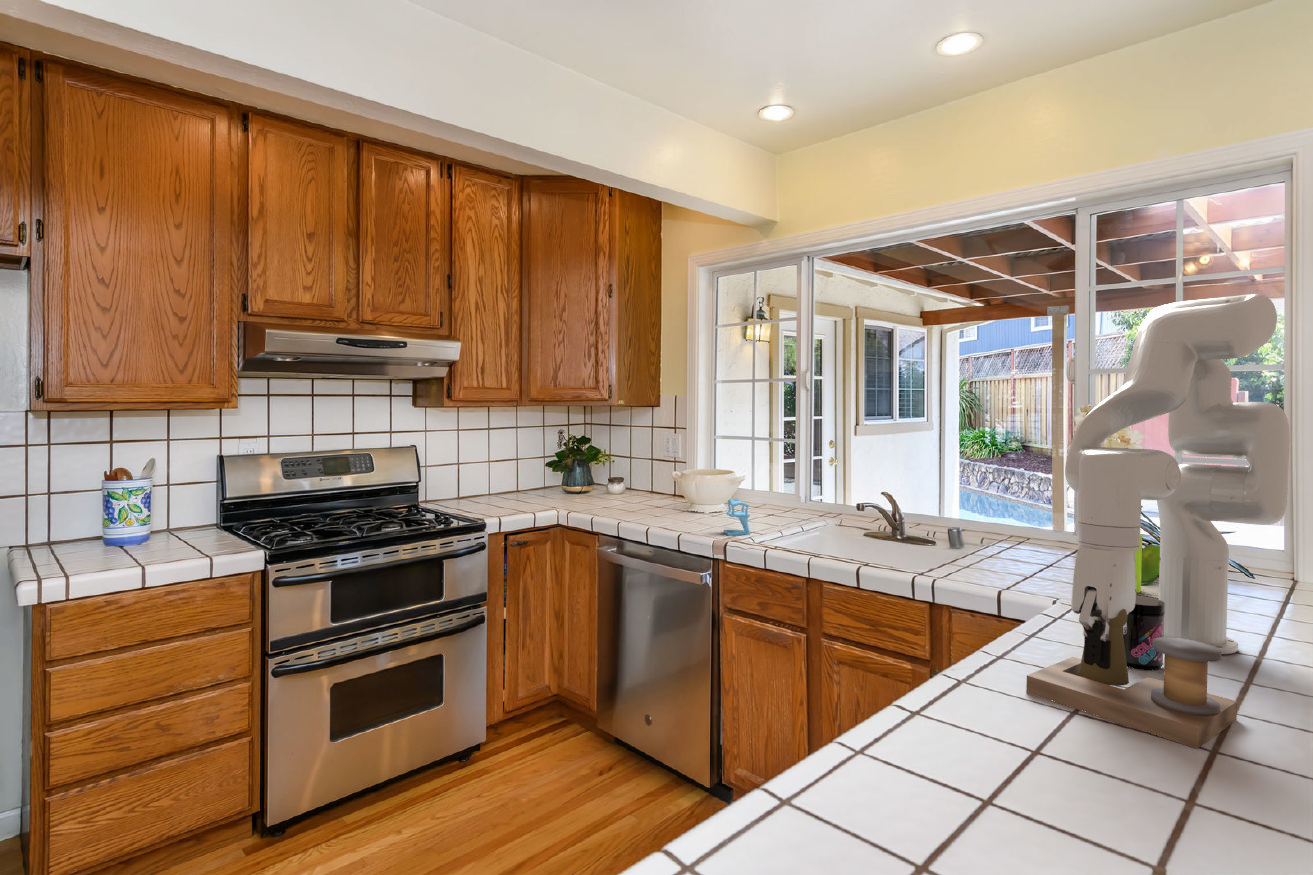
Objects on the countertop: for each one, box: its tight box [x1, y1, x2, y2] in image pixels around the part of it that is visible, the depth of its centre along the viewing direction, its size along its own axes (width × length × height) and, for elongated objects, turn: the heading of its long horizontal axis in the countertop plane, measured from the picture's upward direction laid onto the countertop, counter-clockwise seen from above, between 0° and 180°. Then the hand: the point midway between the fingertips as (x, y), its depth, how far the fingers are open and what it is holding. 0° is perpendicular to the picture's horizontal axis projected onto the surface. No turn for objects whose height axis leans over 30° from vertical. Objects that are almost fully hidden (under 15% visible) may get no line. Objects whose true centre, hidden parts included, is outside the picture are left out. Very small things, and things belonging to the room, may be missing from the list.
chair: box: [723, 498, 751, 537], centre depth 232 cm, size 8×8×12 cm
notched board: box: [1025, 637, 1238, 750], centre depth 93 cm, size 14×20×10 cm
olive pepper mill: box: [1079, 609, 1130, 687], centre depth 98 cm, size 6×6×11 cm
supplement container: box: [1123, 594, 1165, 671], centre depth 109 cm, size 7×7×10 cm
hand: (1104, 661), depth 98 cm, fingers closed on olive pepper mill, 4 cm apart
